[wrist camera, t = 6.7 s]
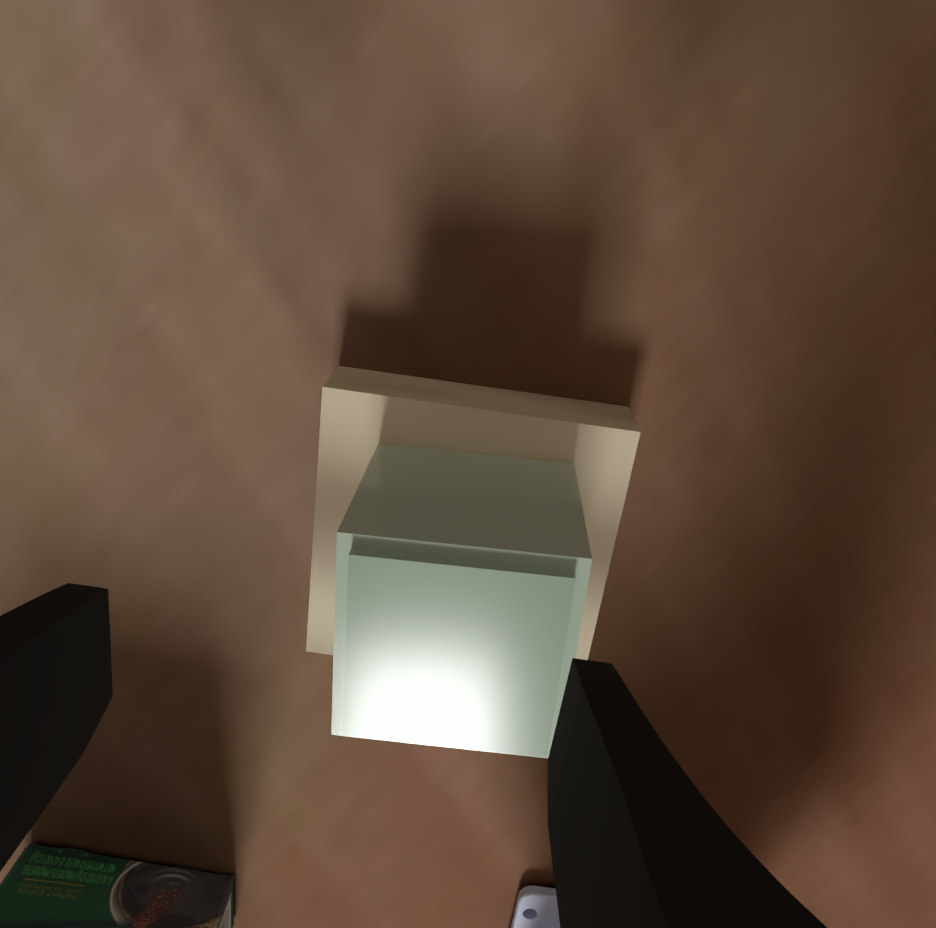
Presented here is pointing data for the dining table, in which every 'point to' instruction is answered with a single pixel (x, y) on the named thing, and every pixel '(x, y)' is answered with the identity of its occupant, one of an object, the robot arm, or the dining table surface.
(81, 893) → the coffee box
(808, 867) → the dining table surface
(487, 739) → the sage box
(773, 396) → the dining table surface
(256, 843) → the dining table surface
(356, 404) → the maple block
